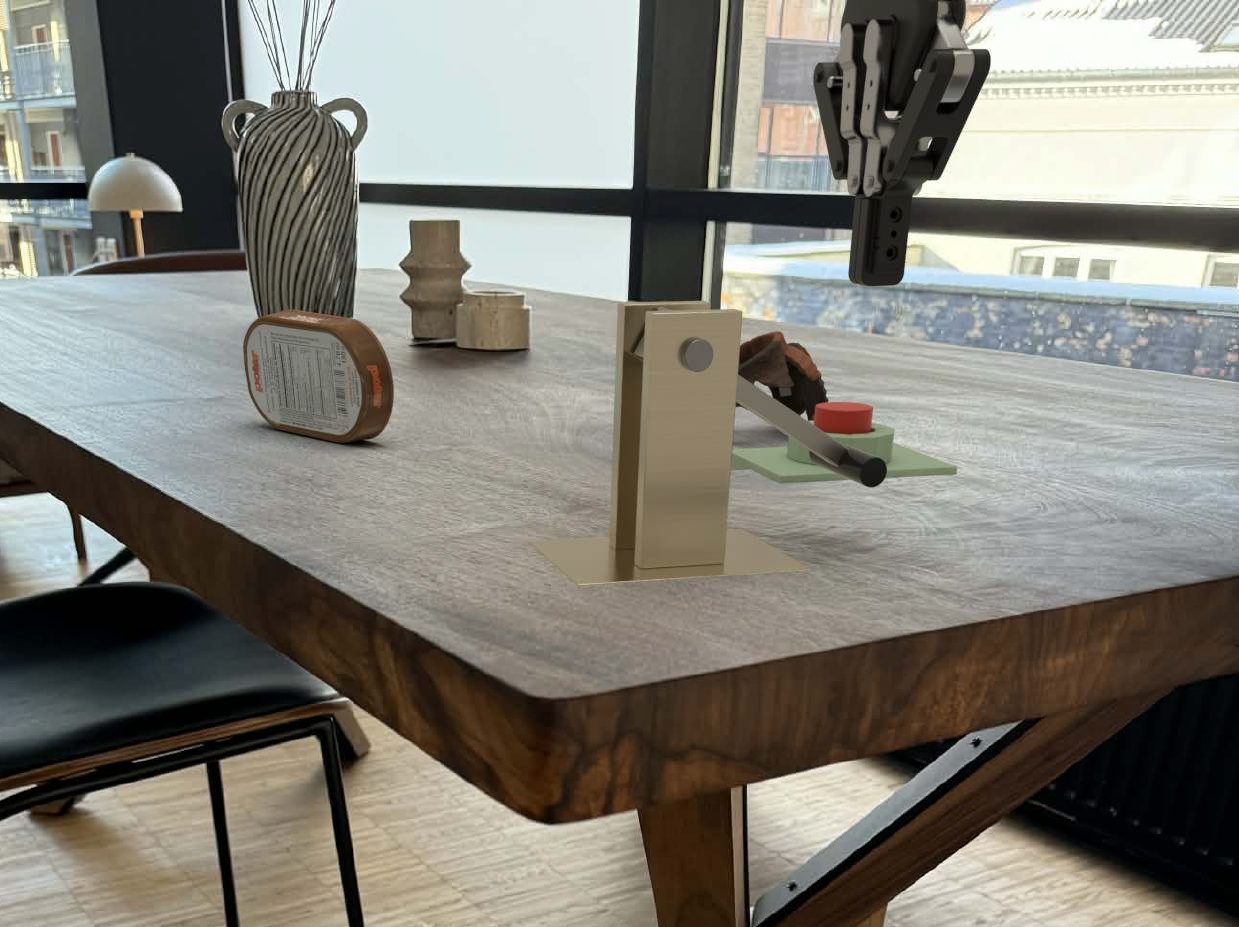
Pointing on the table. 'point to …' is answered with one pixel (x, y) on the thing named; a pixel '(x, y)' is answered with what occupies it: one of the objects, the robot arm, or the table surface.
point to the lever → (806, 434)
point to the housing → (799, 468)
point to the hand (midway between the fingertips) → (874, 283)
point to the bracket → (671, 456)
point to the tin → (318, 375)
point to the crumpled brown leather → (783, 372)
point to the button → (843, 417)
